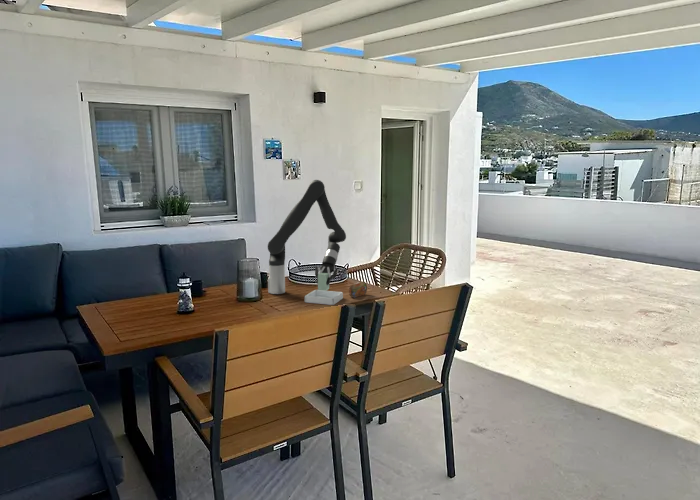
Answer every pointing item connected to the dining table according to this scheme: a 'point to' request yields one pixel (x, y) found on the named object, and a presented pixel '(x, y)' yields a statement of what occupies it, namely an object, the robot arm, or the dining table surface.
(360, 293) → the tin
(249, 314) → the dining table surface
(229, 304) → the dining table surface
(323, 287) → the green block
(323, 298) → the tray
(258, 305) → the dining table surface
